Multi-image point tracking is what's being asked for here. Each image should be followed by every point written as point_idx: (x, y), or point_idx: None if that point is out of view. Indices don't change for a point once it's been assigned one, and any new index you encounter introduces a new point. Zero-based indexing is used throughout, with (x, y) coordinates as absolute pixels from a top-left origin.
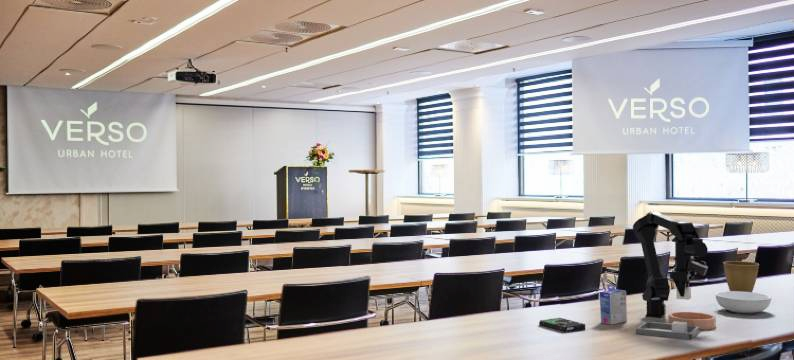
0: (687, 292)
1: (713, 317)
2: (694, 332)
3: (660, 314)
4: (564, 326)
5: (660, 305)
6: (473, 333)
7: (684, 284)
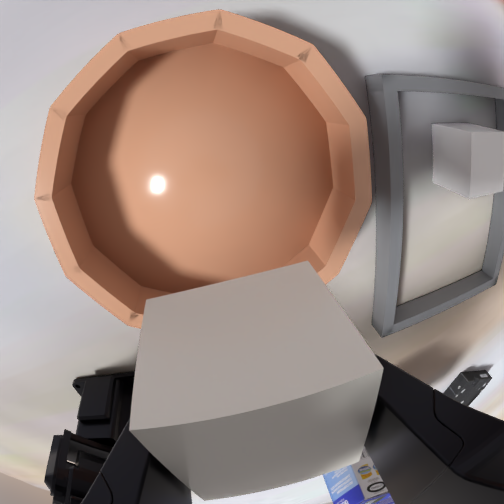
0: (353, 337)
1: (163, 32)
2: (484, 84)
3: (124, 388)
4: (488, 381)
5: (119, 424)
6: (489, 409)
7: (494, 427)
